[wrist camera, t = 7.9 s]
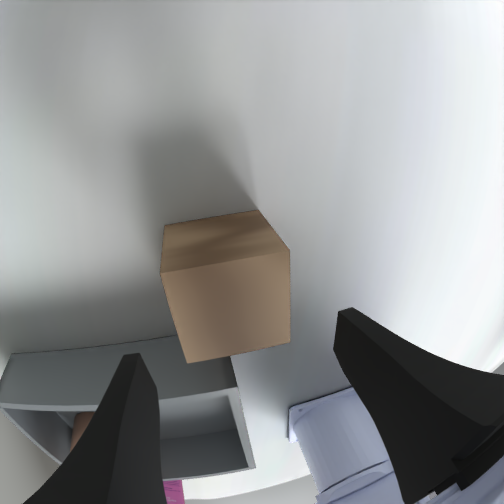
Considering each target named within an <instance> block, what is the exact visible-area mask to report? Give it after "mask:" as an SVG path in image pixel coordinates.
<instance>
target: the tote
mask: <svg viewBox="0 0 504 504" xmlns="http://www.w3.org/2000/svg"><path fill="white" fill-rule="evenodd" d="M133 353H140V354H141V356H142V359H143V361H144V363H145V365H146V367H147V369H148V371H149V373H150V375H151V377H152V379H153V381H154V383H155V385H156V387H157V392H158V400H159V409H160V456H161V472H162V479H163V481H172V480H184V479H193V478H202V477H209V476H216V475H223V474H228V473H234V472H239V471H245V470H249V469H254V468H256V465H255V461H254V457H253V453H252V448H251V444H250V440H249V435H248V431H247V427H246V422H245V418H244V413H243V409H242V404H241V400H240V395H239V390H238V386H237V382H236V378H235V374H234V370H233V366H232V362H231V358H230V356H226V357H221V358H216V359H210V360H205V361H199V362H193V363H187V361H186V358H185V355H184V352H183V349H182V346H181V343H180V340H179V337H178V335H176V336H170V337H164V338H158V339H151V340H144V341H137V342H130V343H123V344H115V345H107V346H99V347H90V348H81V349H71V350H60V351H48V352H34V353H17V354H11V356H10V359H9V361H8V363H7V365H6V368H5V370H4V372H3V375H2V377H1V380H0V411H1V412H2V413H3V414H4V415H5V416H6V417H7V418H8V419H9V420H10V421H11V422H12V423H13V424H14V425H15V426H16V427H17V428H18V429H19V430H20V431H21V432H22V433H23V434H24V435H25V436H26V437H28V438H29V439H30V440H31V441H32V442H33V443H34V444H35V445H36V446H38V447H39V448H40V449H41V450H42V451H43V452H45V453H46V454H47V455H48V456H49V457H51V458H52V459H53V460H54V461H56V462H57V463H58V464H60V465H61V464H62V463H63V461H64V460H65V459H66V457H67V456H68V455H69V453H70V447H71V439H72V431H73V424H74V418H75V416H76V415H77V414H79V413H82V412H95V411H96V409H97V408H98V406H99V404H100V402H101V400H102V398H103V396H104V394H105V392H106V390H107V388H108V386H109V384H110V382H111V380H112V377H113V375H114V373H115V371H116V369H117V367H118V365H119V363H120V361H121V359H122V357H123V355H125V354H133Z"/></svg>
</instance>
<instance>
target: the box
mask: <svg viewBox="0 0 504 504" xmlns="http://www.w3.org/2000/svg"><path fill="white" fill-rule="evenodd" d="M163 485H164V490H165V495H166V500H167V504H185V501H184V493H183V486H182V480H172V481H163Z"/></svg>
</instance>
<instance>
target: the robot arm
mask: <svg viewBox="0 0 504 504" xmlns="http://www.w3.org/2000/svg"><path fill="white" fill-rule="evenodd" d="M333 350H334V352H335V355H336V357H337V359H338V362H339V364H340V366H341V368H342V370H343V372H344V374H345V375H346V377H347V379H348V380H349V382H350V383H351V385H352V387H351V388H349V389H346V390H343V391H340V392H337V393H334V394H331V395H329V396H325V397H322V398H319V399H316V400H313V401H310V402H306V403H303V404H300V405H296V406H293V407H291V408H290V410H289V439H288V440H289V442H290V443H294V442H297V441H298V442H299V445H300V447H301V450H302V452H303V455H304V457H305V460H306V462H307V464H308V467H309V469H310V472H311V474H312V477H313V479H314V481H315V484H316V486H317V489H318V491H319V495H317V496H316V499H317V501H318V502H317V503H314V504H504V375H500V374H493V373H489V372H484V371H480V370H476V369H472V368H469V367H466V366H462V365H459V364H456V363H453V362H451V361H448V360H446V359H443V358H441V357H439V356H436V355H434V354H432V353H429V352H427V351H425V350H423V349H421V348H419V347H418V346H416V345H414V344H412V343H410V342H408V341H406V340H405V339H403V338H401V337H399V336H398V335H396V334H394V333H393V332H391V331H390V330H388V329H386V328H385V327H383V326H382V325H380V324H378V323H377V322H375V321H374V320H372V319H371V318H369V317H367V316H366V315H364V314H363V313H361V312H359V311H358V310H356V309H355V308H353V307H352V308H348V309H345V310H341V311H338V317H337V325H336V333H335V340H334V347H333ZM434 491H435V492H436V494H437V496H436V497H434V498H433V499H431V500H430V497H429V494H431V493H432V492H434ZM23 504H167V500H166V495H165V490H164V485H163V479H162V472H161V456H160V409H159V400H158V392H157V387H156V385H155V383H154V381H153V379H152V377H151V375H150V373H149V371H148V369H147V367H146V365H145V363H144V361H143V359H142V356H141V354H140V353H133V354H125V355H123V357H122V359H121V361H120V363H119V365H118V367H117V369H116V371H115V373H114V375H113V377H112V380H111V382H110V384H109V386H108V388H107V390H106V392H105V394H104V396H103V398H102V400H101V402H100V404H99V406H98V408H97V409H96V411H95V413H94V415H93V417H92V418H91V420H90V422H89V424H88V426H87V427H86V429H85V431H84V432H83V434H82V436H81V437H80V439H79V440H78V442H77V443H76V445H75V446H74V448H73V449H72V450H71V452H70V453H69V455H68V456H67V457H66V459H65V460H64V461H63V463H62V464H61V465H60V466H59V468H58V469H57V470H56V471H55V472H54V473H53V475H52V476H51V477H50V478H49V479H48V480H47V481H46V482H45V483H44V485H43V486H42V487H41V488H40V489H39V490H38V491H37V492H35V493H34V494H33V495H32V496H31V497H30V498H29V499H27V500H26V501H25V502H24V503H23Z"/></svg>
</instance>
